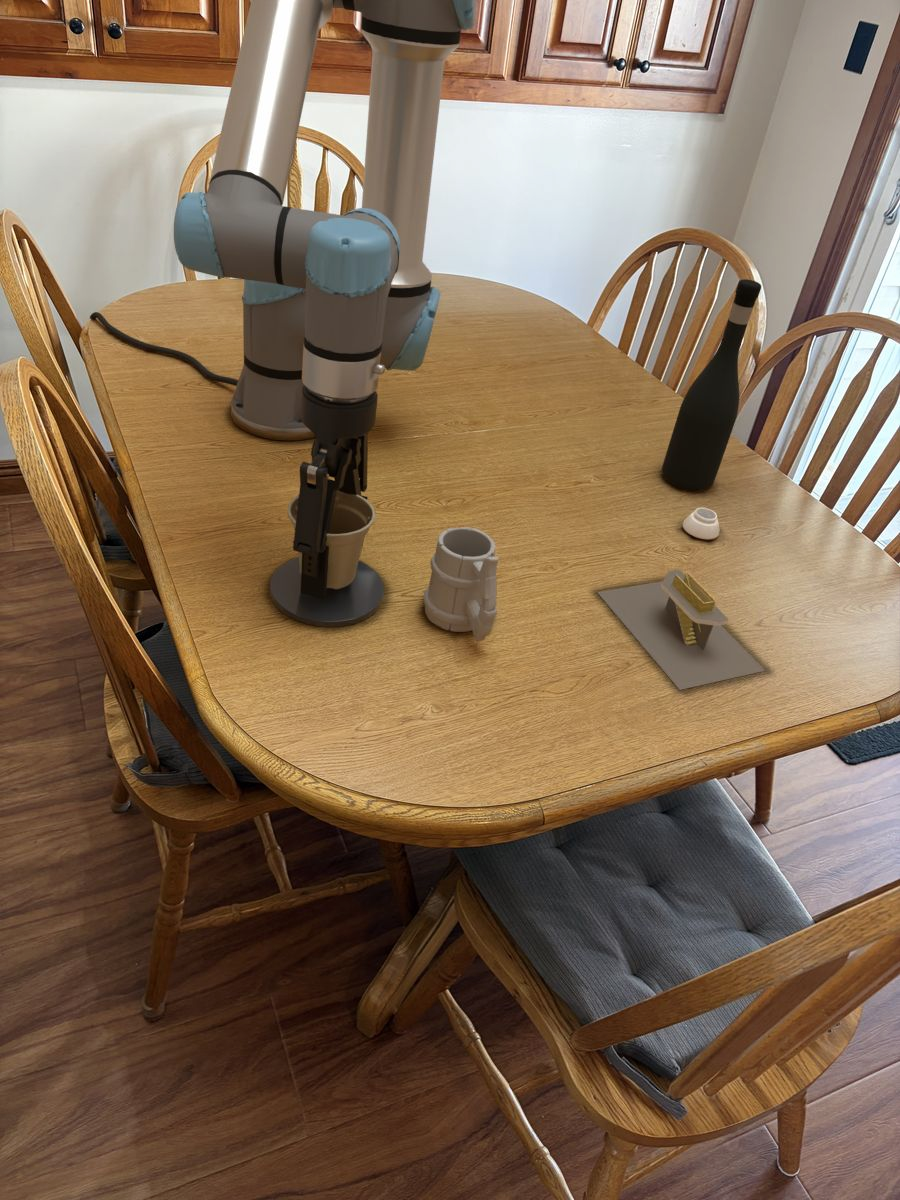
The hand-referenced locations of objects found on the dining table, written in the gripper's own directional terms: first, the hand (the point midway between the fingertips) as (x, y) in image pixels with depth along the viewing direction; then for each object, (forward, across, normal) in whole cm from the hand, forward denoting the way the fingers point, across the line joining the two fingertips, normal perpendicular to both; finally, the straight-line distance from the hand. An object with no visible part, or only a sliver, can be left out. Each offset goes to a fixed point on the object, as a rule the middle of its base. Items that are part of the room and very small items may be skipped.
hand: (328, 572), depth 107 cm
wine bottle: (+3, +49, -38) cm, 62 cm away
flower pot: (0, 0, 0) cm, 0 cm away
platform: (+3, +11, -40) cm, 42 cm away
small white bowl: (+3, +35, -41) cm, 54 cm away
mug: (+3, +1, -16) cm, 16 cm away
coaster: (+3, 0, 0) cm, 3 cm away
